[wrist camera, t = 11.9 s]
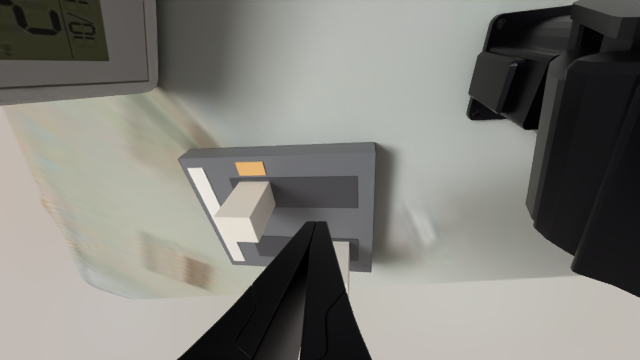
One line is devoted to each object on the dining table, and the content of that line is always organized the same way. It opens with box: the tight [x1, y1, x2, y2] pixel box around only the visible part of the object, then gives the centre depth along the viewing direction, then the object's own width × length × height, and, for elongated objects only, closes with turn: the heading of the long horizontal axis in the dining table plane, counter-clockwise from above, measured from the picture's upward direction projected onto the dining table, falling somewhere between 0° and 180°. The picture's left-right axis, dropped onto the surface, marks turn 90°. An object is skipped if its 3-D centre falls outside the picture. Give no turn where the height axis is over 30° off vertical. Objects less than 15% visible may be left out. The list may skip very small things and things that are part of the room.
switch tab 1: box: [214, 182, 276, 243], centre depth 20 cm, size 3×3×5 cm
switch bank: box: [178, 142, 376, 272], centre depth 25 cm, size 18×16×2 cm
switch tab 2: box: [333, 241, 350, 298], centre depth 23 cm, size 3×3×5 cm
